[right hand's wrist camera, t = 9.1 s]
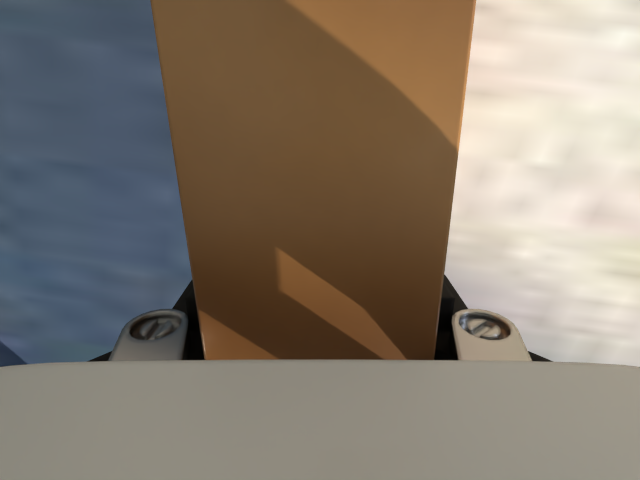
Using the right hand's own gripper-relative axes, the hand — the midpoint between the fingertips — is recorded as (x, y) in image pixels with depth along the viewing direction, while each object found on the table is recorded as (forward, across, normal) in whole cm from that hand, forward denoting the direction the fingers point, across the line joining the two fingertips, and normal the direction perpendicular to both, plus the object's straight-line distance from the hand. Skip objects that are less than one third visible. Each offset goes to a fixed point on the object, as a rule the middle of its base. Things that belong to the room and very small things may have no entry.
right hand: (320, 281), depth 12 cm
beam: (+2, 0, -35) cm, 35 cm away
